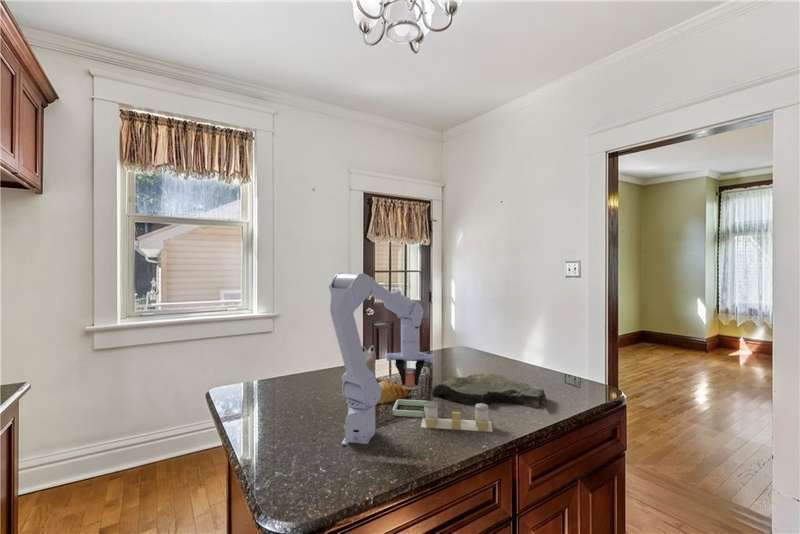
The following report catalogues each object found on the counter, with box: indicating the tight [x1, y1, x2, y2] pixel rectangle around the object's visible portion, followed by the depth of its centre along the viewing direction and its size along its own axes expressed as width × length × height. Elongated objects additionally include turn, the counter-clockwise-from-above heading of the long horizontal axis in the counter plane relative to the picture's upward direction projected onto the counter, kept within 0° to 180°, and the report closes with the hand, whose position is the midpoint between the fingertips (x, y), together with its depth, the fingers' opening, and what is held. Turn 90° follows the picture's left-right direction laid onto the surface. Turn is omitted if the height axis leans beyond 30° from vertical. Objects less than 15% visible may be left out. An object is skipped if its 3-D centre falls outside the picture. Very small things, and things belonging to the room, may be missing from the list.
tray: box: [391, 398, 428, 418], centre depth 116 cm, size 9×10×2 cm
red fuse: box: [404, 367, 417, 390], centre depth 116 cm, size 4×4×6 cm
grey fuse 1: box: [424, 400, 439, 425], centre depth 107 cm, size 4×4×6 cm
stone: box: [431, 373, 547, 410], centre depth 129 cm, size 35×6×29 cm
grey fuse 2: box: [474, 403, 489, 428], centre depth 105 cm, size 4×4×6 cm
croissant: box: [377, 380, 413, 405], centre depth 127 cm, size 21×10×8 cm, turn 114°
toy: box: [361, 345, 377, 375], centre depth 147 cm, size 6×19×15 cm, turn 16°
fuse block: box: [420, 411, 494, 433], centre depth 106 cm, size 6×20×3 cm, turn 81°
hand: (410, 384), depth 116 cm, fingers closed on red fuse, 3 cm apart
